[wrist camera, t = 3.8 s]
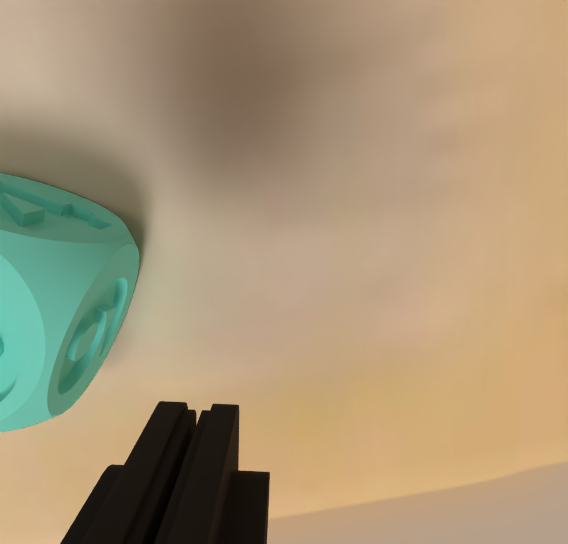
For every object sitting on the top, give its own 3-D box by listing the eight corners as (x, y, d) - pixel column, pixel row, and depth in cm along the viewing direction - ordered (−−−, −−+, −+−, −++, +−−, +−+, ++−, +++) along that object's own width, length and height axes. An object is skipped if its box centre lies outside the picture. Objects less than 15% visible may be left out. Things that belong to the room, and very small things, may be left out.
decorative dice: (-5, 161, 21) (-180, 167, 13) (156, 224, 21) (79, 265, 14) (-37, 309, 23) (-205, 389, 15) (111, 363, 23) (22, 466, 16)
